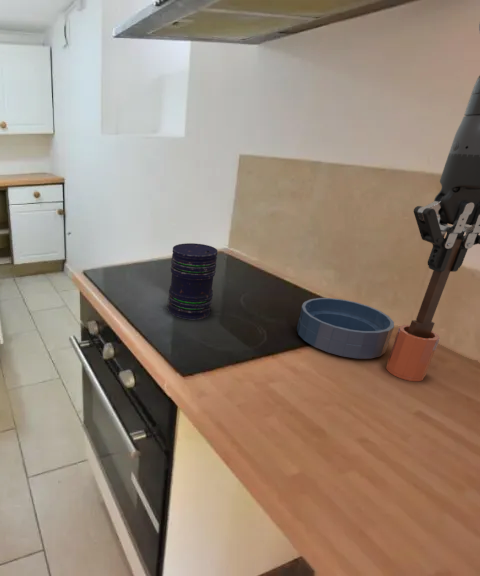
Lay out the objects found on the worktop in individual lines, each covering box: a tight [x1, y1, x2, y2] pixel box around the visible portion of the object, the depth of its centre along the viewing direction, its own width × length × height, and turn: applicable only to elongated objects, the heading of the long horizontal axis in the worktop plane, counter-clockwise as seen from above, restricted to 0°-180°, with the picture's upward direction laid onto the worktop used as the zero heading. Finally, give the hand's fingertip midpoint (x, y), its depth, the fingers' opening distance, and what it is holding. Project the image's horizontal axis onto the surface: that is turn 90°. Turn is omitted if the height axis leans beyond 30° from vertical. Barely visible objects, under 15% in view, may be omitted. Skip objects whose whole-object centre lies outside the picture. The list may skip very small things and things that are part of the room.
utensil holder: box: [385, 324, 441, 382], centre depth 64 cm, size 5×5×8 cm
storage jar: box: [167, 242, 219, 321], centre depth 86 cm, size 10×10×15 cm
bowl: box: [296, 297, 395, 360], centre depth 75 cm, size 15×15×6 cm
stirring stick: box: [408, 238, 462, 338], centre depth 60 cm, size 3×1×18 cm, turn 90°
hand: (442, 269), depth 59 cm, fingers closed on stirring stick, 1 cm apart
